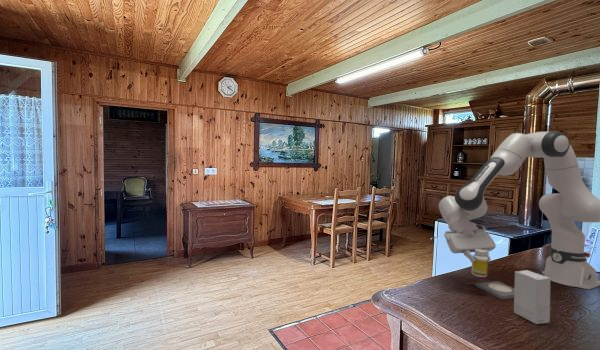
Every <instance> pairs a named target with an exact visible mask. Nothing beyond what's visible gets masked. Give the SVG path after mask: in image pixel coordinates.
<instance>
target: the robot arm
mask: <svg viewBox="0 0 600 350" xmlns="http://www.w3.org/2000/svg"><path fill="white" fill-rule="evenodd" d="M526 158H536V159H537V158H539V159H540V158H543V163H544V169H545V172H546V177H547V181H548V184H549V186H550V187H551V188H552V189H554V190H556V191H557V193H546V194H544V195H542V196H541V198H540V199H539V201H538V207H539V209H540V211H541V212H542V213H543V214H544V216H545V217H546V218H547V220H548V222H549V226H550V229H551V246H550V247H549V250H548V251H549V256H548V257H546V261H545V266H544V270H542V273H541V275H543V276H546V277H549V278H551V279H550V282H554V283H556V284H560V285H565V286H568V287H576V288H580V289H585V290H591V289H594V288H597V287H599V286H600V280H599V279H597V271H596V269H595V268H594V267H593V266H592V265H591V264H590V263H589V262H588V261H587V258H588V259H589V258H591V253H590V252H586V251H585V242H586V235H585V234H584V232H583V231H582V230H581V229H579V228H578V227H577V224H576V223H575V221H577V222H580V223H600V198H598V197H597V196H595V195H594V194H593V193H592V192H591V191H590V190H589V189H588V187H587V186H586V184H585V183H584V181H583V179H582V174H581V172H580V171H581V170H580V168H579V167H580V166H579V161H578V159H577V155H576V154H575V151H574V149H573V147H572V145H571V142H570V138H569V137H568V136H567V134H565V132H562V131H556V130H555V131H554V130H552V131H536V132H529V133H521V132H515V133H511V134H510V135H509V136H507V137H506V138H505V139H504V140H503V141H502V142H501V143H500V144H499V146H498V147H497V148H496V149H495V151H494V152H493V153H492V155H491V157H490V158H489V159H488V160H486V161H485V163H484V164H483V165H482V166H481V167H480V168H479V169H478V170H477V172H475V174H474V175H473V176H472V177H471V179H470V180H468V182H466V183H464V184H463V185H461V186H460V187H459V188H458V189H456V191H455V194H454V196H453V195H447V196H445V197H443V198H442V199H441V200H439V202H438V209H439V210H438V211H439V213H440V215H441V217H442V218H443V220H444V221H445V223H446V224H447V226H448V229H449V230H448V231H445V232H444V233H443V237H445V241H446V243H447V246H448V248H449V249H448V250H450V252H451V253H453V254H463V255H464V256H465V257H466V258H467V259H469V261H470V263H471V264H472V263H473V262H476V261H477V259H476V258H475V257H473V254H472V253H475V249H482V250H485V251H487V254H486V257H488V262H490V261H491V256H490V252H492V251H493V250H495V249H496V247H497V246H496V245H497V244H496V243H495V241H494V239H493V238H492V237H491V234H489V233H488V232H487V231H486V228H485V226H484V225H483V224H477V223H475V222H472V221H473V220H477V219H479V218H481V217H483V216H485V215H486V214H487V212H488V209H489V208H488V204H487V201H486V199H485V197H484V194H485V190H486V189H487V187H488V186H489V185H491V183H492V181H494V179H495V178H497V176H503V177H505V176H512V175H514V173H516V171H518V170H519V168H520V167H522V164H523V163H524V161H525V160H526Z"/></svg>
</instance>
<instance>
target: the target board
mask: <svg viewBox="0 0 600 350" xmlns="http://www.w3.org/2000/svg"><path fill="white" fill-rule="evenodd" d="M475 287H477V288H478V289H481V290H483V291H485V292H487V293H489V294H491V295H493V296H494V297H497V298H498V299H501V300H505V299H506V300H507V299H514V288H515V287H512V286H511V285H507V284H505V283H504V282H500V281H498V280H497V281H487V282H486V281H485V282H476V283H475Z"/></svg>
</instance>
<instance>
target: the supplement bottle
mask: <svg viewBox="0 0 600 350" xmlns="http://www.w3.org/2000/svg"><path fill="white" fill-rule="evenodd" d="M486 254H487V251H485V250H482V249H475V252H474V254H472V256H473V257H475V258H476V259H477V261H476V262H473V263H471V269H470V270H471V271H470V272H471V274H472V275H473V276H474V277H475V276H476V277H479V278H486V277H487V276H488V268H489V261H488V257H486Z"/></svg>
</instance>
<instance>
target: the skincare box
mask: <svg viewBox="0 0 600 350" xmlns="http://www.w3.org/2000/svg"><path fill="white" fill-rule="evenodd" d="M550 279H551V278H549V277H546V276H544V274H541V273H536V272H534V271H531V270H528V269H526V270H517V271H514V287H513V288H514V298H513V299H514V300H513V313H514V314H516V315H518V316H520V317H522V318H524V319H526V320H528V321H530V322H531V323H533V324H535V325H539V324H540V325H541V324H549V323H550V321H551V319H550V318H551V280H550Z"/></svg>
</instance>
